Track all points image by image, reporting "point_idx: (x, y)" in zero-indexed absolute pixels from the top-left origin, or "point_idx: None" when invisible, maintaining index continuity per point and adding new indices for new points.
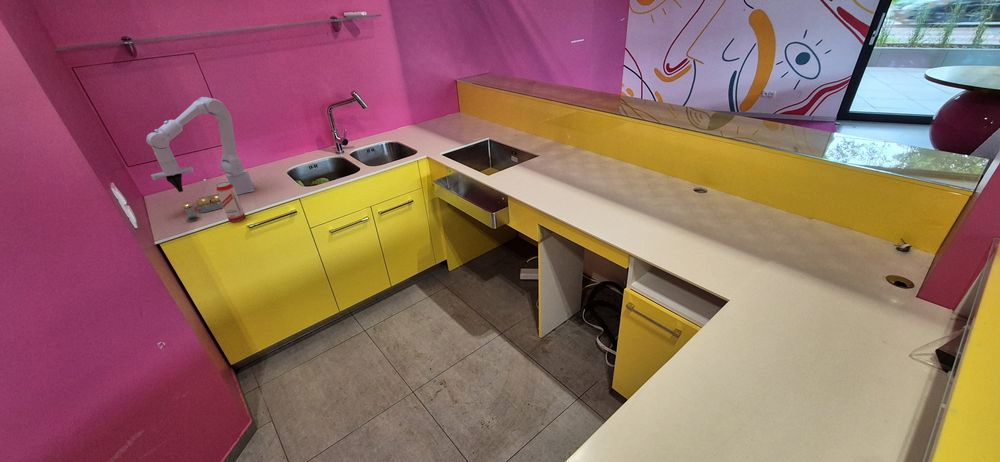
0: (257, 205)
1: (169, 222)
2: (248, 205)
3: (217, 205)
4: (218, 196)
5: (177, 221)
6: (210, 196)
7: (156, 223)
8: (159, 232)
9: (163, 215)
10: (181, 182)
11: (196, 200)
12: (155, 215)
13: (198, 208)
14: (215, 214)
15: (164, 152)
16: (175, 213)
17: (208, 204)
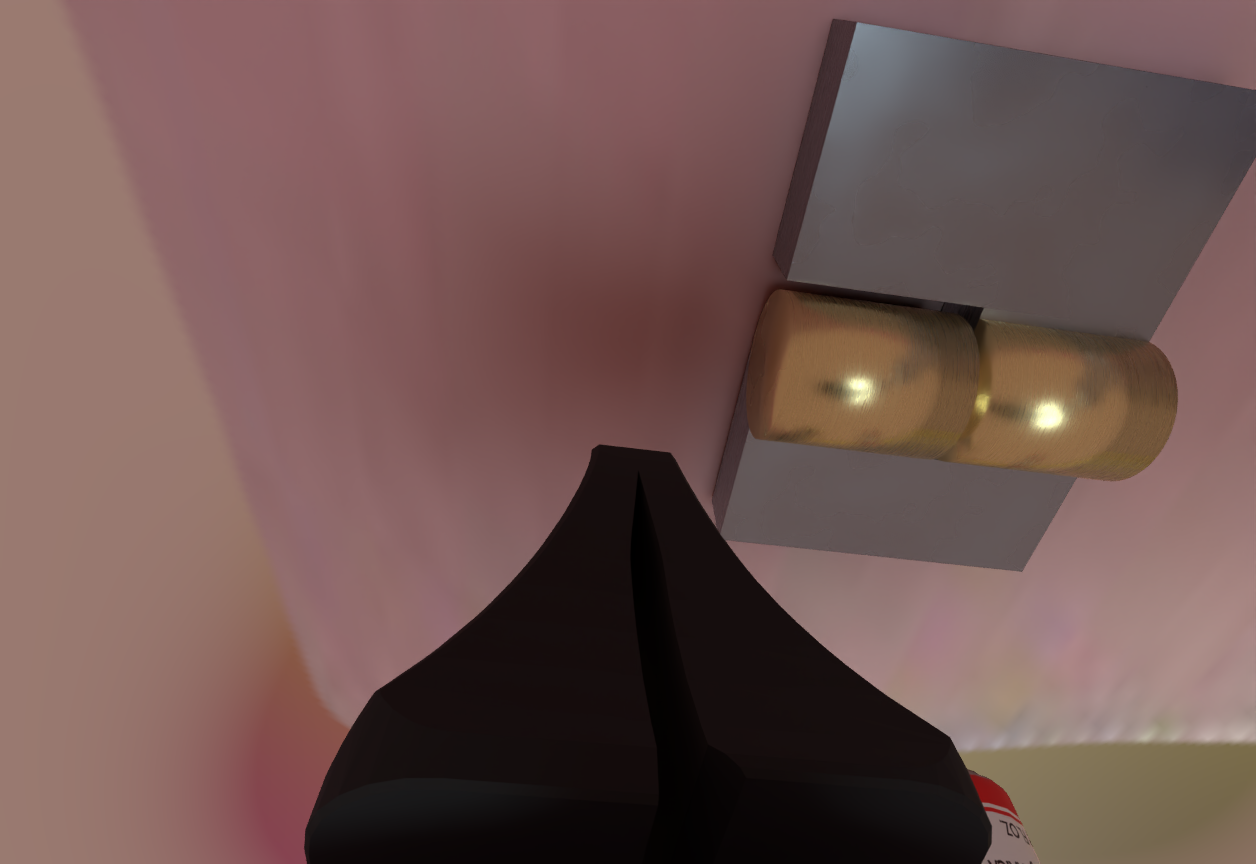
0: (1215, 675)
1: (382, 506)
2: (1169, 624)
3: (938, 554)
4: (1081, 470)
5: (467, 537)
6: (1040, 120)
7: (228, 434)
8: (316, 661)
9: (260, 207)
10: (740, 582)
11: (776, 417)
12: (120, 100)
13: (730, 524)
14: (835, 618)
15: None
16: (430, 261)
17: (869, 483)
